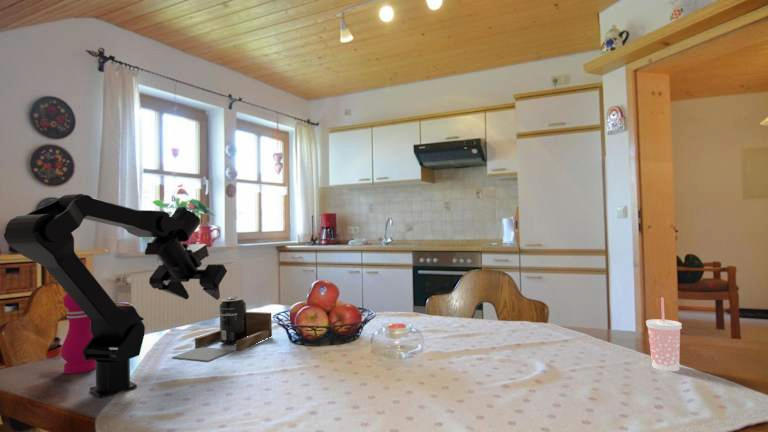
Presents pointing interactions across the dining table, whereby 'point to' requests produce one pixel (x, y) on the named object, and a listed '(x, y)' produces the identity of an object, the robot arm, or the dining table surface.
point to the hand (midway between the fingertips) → (203, 298)
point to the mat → (203, 354)
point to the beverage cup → (664, 342)
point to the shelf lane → (256, 331)
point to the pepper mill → (76, 339)
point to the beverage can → (232, 320)
